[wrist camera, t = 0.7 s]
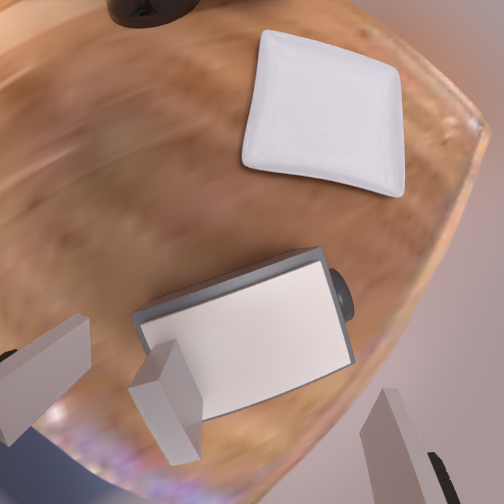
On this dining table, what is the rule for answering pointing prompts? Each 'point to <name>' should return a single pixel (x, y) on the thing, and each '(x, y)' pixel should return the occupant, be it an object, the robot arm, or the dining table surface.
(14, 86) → the dining table surface
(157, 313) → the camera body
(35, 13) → the dining table surface
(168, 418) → the side cover
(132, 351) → the dining table surface
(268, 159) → the salad plate
